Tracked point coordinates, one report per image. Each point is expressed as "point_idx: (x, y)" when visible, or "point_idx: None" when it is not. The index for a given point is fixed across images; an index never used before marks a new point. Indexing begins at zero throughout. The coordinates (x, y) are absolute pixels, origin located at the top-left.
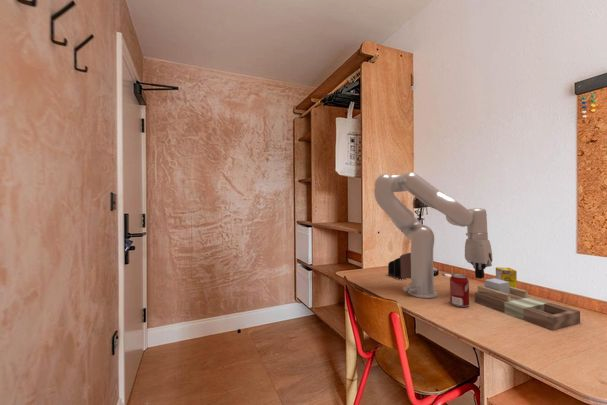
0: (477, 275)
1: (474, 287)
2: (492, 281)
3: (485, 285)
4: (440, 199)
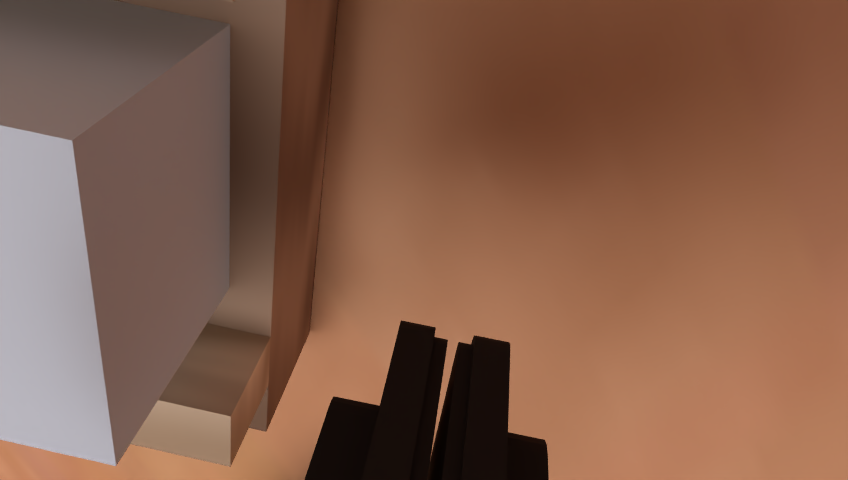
0: (439, 385)
1: (724, 476)
2: None
3: (134, 70)
4: None
